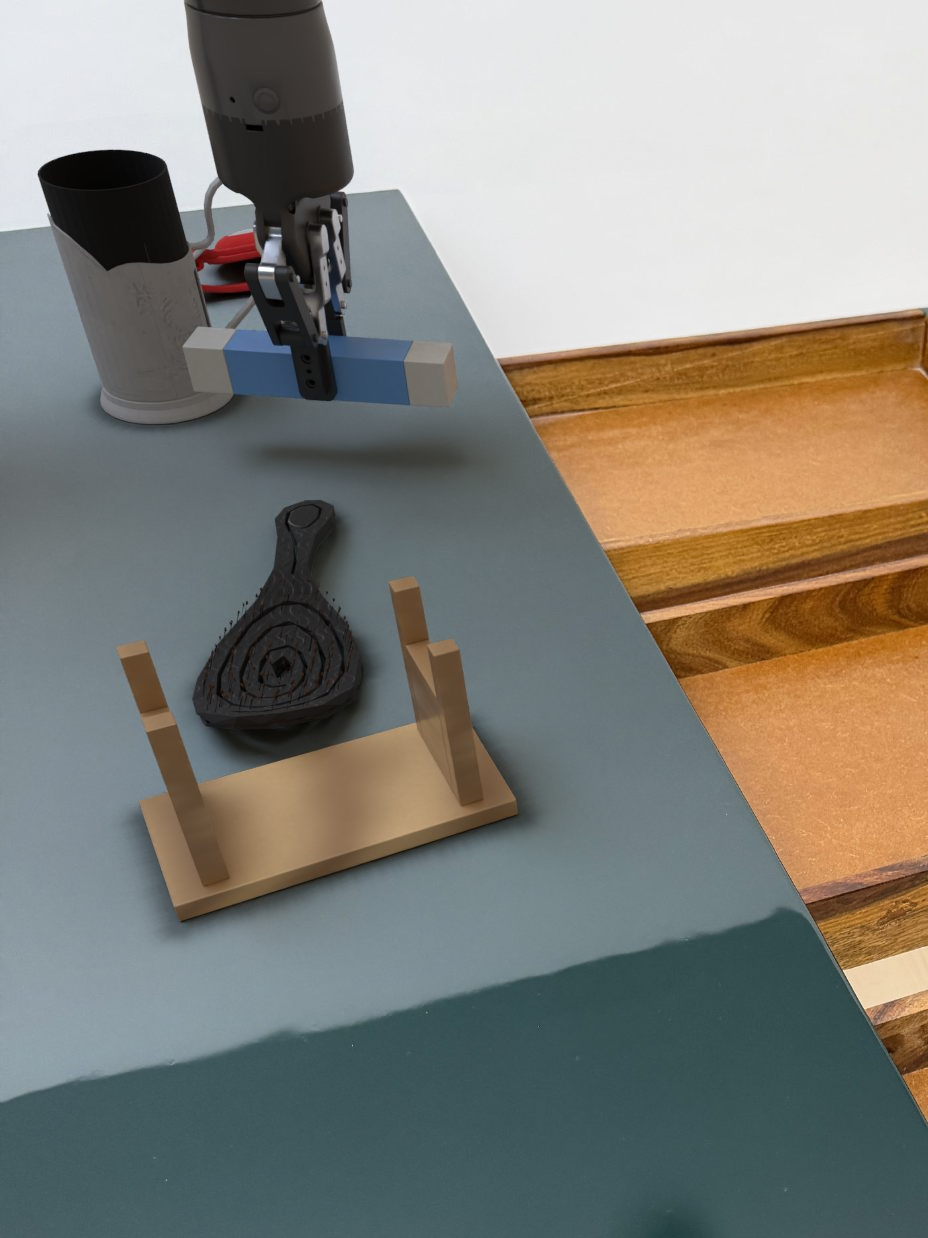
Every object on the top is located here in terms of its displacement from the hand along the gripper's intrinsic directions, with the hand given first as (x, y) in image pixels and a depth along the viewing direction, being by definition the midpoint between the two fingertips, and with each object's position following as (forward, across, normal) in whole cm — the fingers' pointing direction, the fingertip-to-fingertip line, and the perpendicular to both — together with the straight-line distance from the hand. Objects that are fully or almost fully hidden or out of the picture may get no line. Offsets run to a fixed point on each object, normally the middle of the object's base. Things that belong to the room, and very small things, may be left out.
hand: (327, 384), depth 90 cm
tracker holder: (+5, -28, -14) cm, 32 cm away
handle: (0, 0, 0) cm, 0 cm away
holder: (+5, +35, +8) cm, 36 cm away
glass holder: (+5, -9, -12) cm, 16 cm away
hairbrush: (+5, +19, +2) cm, 20 cm away
